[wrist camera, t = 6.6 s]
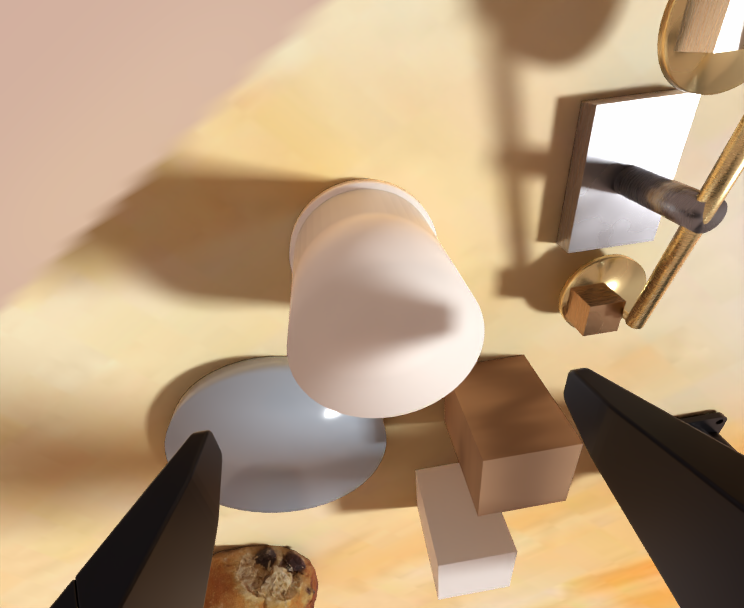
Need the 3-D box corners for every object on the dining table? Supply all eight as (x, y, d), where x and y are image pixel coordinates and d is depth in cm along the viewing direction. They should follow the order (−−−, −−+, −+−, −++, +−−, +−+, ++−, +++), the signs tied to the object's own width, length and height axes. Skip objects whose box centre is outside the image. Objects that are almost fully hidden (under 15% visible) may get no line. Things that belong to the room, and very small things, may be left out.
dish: (373, 339, 21) (376, 355, 20) (390, 477, 27) (393, 494, 26) (133, 377, 20) (124, 394, 19) (210, 508, 27) (207, 526, 26)
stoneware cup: (434, 168, 16) (499, 239, 11) (435, 301, 20) (484, 405, 14) (274, 189, 16) (254, 274, 10) (304, 320, 19) (302, 435, 14)
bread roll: (188, 515, 33) (121, 636, 28) (283, 530, 28) (223, 682, 23) (260, 560, 38) (215, 669, 33) (350, 580, 33) (314, 712, 28)
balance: (615, 308, 21) (711, 393, 16) (543, 319, 21) (616, 409, 16) (725, -63, 13) (987, -125, 8) (608, -50, 13) (801, -106, 8)
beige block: (480, 458, 28) (517, 551, 23) (476, 495, 30) (509, 586, 25) (415, 469, 27) (438, 566, 22) (417, 505, 30) (438, 599, 25)
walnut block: (523, 354, 23) (583, 443, 18) (515, 408, 25) (565, 500, 20) (444, 366, 22) (483, 461, 17) (444, 420, 25) (477, 516, 20)
